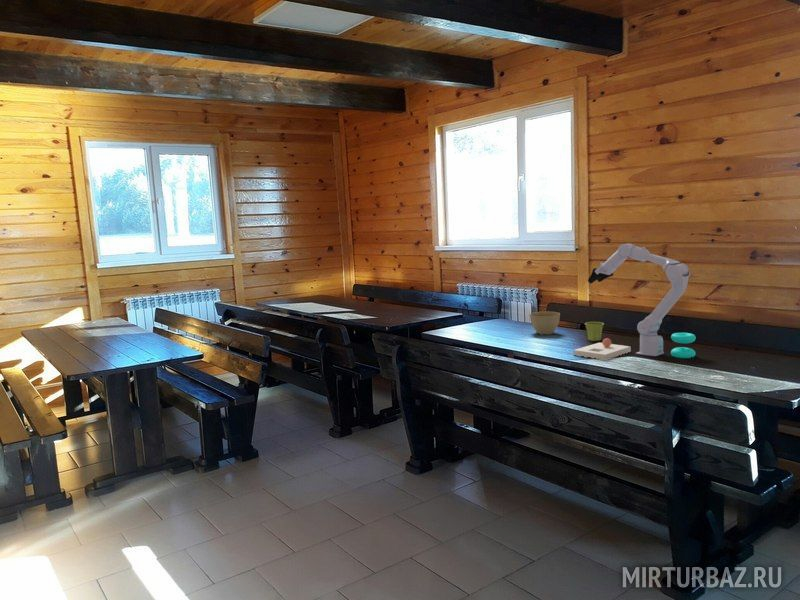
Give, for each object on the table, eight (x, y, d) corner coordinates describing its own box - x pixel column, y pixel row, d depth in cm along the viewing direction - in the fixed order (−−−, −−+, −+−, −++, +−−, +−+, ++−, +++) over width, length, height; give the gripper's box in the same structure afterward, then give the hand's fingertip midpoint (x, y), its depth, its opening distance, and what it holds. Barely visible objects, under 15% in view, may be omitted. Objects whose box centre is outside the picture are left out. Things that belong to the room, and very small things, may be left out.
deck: (630, 351, 291) (630, 346, 291) (605, 360, 277) (605, 354, 277) (599, 347, 303) (599, 342, 303) (573, 355, 289) (573, 350, 289)
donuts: (669, 335, 275) (672, 331, 284) (669, 357, 276) (672, 353, 285) (694, 336, 270) (697, 332, 279) (694, 359, 271) (696, 354, 280)
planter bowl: (531, 330, 356) (531, 311, 355) (561, 331, 351) (560, 311, 350) (528, 335, 341) (528, 315, 339) (559, 336, 336) (558, 316, 334)
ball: (613, 346, 292) (613, 338, 292) (608, 348, 290) (608, 339, 289) (605, 345, 295) (605, 337, 295) (600, 347, 293) (600, 338, 292)
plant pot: (583, 341, 320) (583, 324, 319) (586, 337, 328) (586, 321, 327) (602, 342, 316) (602, 325, 315) (605, 338, 324) (605, 322, 323)
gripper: (616, 255, 300) (597, 273, 309) (599, 257, 291) (580, 276, 300) (625, 266, 297) (605, 284, 306) (608, 269, 288) (589, 287, 297)
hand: (593, 281), depth 303 cm, fingers open, 7 cm apart
